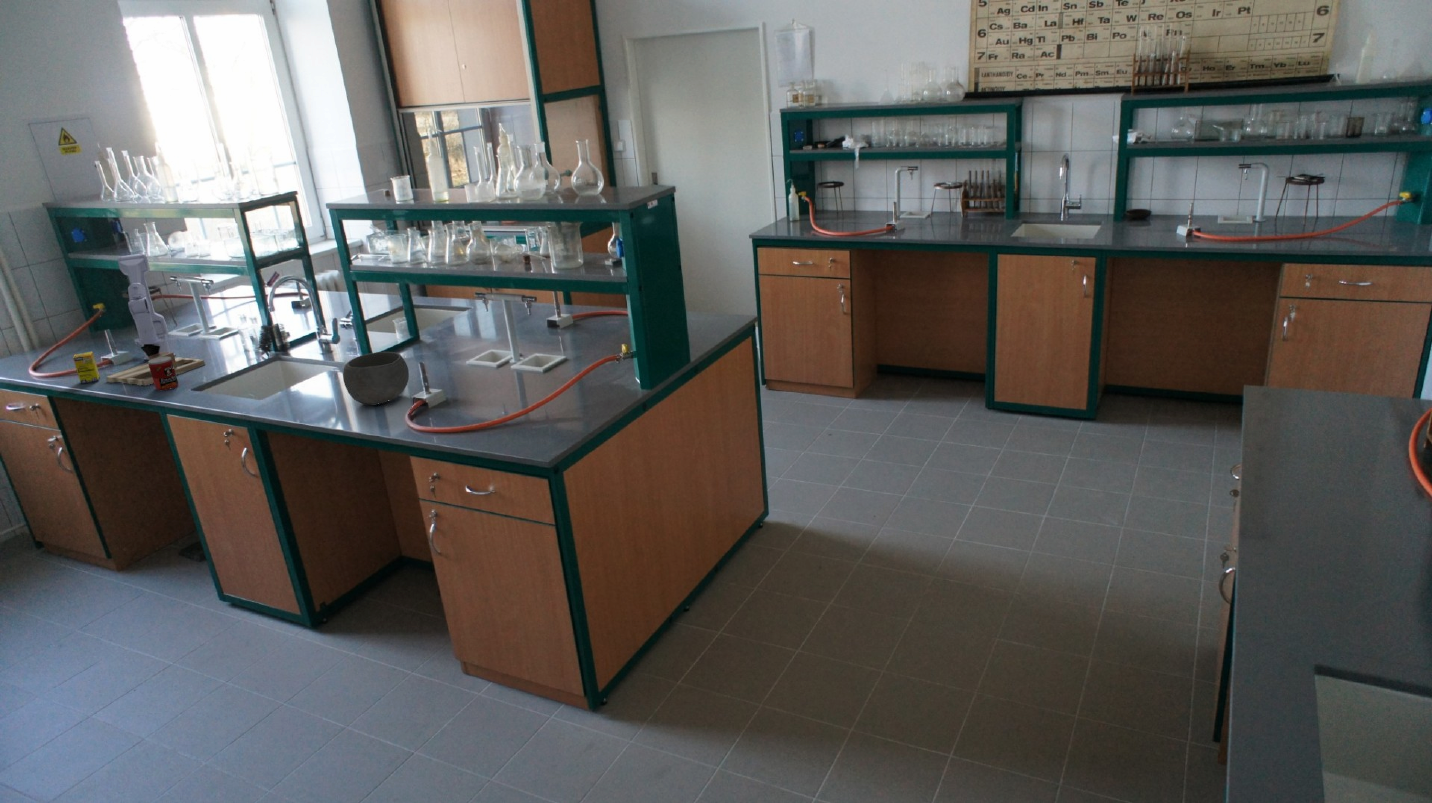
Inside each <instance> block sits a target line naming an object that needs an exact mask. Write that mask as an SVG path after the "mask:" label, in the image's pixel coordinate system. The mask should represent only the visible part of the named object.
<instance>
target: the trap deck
mask: <svg viewBox="0 0 1432 803" xmlns="http://www.w3.org/2000/svg"><path fill="white" fill-rule="evenodd" d="M174 357H175V361H176V364H177V368H174V369H175V373H176V376H178V375H180V373H181V374H183V373H185V372H189V371H191V370H194V369H197V368H200V367H203V366H205V365H206V363H205V360H204V359H198V358H189V357H188V358H187V357H179V356H177V357H176V356H174ZM177 374H178V375H177ZM105 378H106V382H107V383H114V382H122V383H121V384H123V383H129V384H128V385H132V384H137V385H136V386H141V385H148V386H151V385H154V384H153V383H154V381H153V378H152V375H151V371H150V368H149V364H148V362H145V363H142V364H138V365H136V366H134V367H133V366H132V367H130V368H128V369H125V370H122V371H119V372H116V373H113V374H110V375H108V376H105ZM130 383H131V384H130ZM150 384H151V385H150Z"/></svg>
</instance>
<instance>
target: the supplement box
mask: <svg viewBox="0 0 1432 803" xmlns="http://www.w3.org/2000/svg"><path fill="white" fill-rule="evenodd" d="M72 359H73V363H74V365H75V369H76V372H77V376H78V379H79V381H80V382H79V383H80V384H81V385H84V384H91V383H97V382H99V381H100V379H101V376H100V373H99V368H98V365H97V362H96V359H95V355H94V352H93V351H86V352H82V353H76V354H74V355H73V357H72Z"/></svg>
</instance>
